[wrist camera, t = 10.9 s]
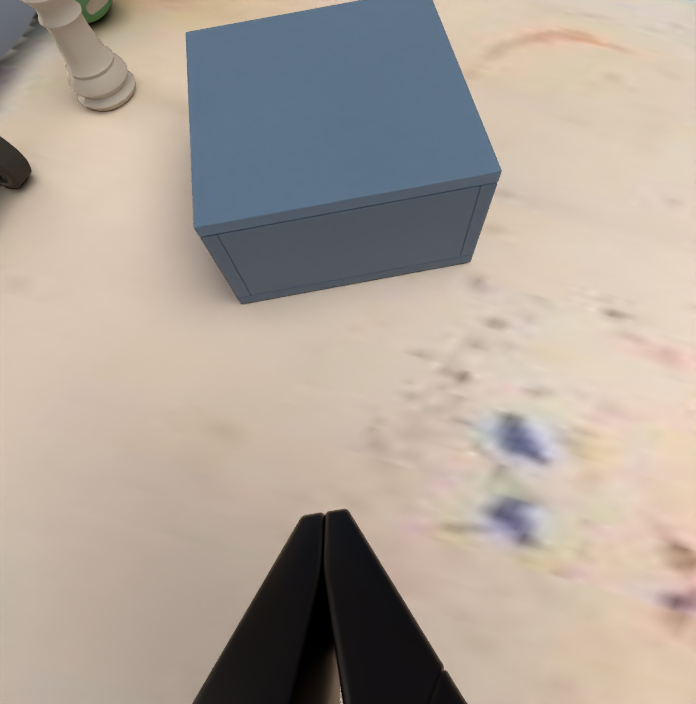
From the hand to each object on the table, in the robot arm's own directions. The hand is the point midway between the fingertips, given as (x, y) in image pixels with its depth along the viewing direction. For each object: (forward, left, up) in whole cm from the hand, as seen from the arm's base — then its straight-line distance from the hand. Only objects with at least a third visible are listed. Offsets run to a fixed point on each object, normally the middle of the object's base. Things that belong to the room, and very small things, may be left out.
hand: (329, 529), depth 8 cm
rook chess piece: (+30, -19, -14) cm, 38 cm away
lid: (+10, -17, -7) cm, 21 cm away
